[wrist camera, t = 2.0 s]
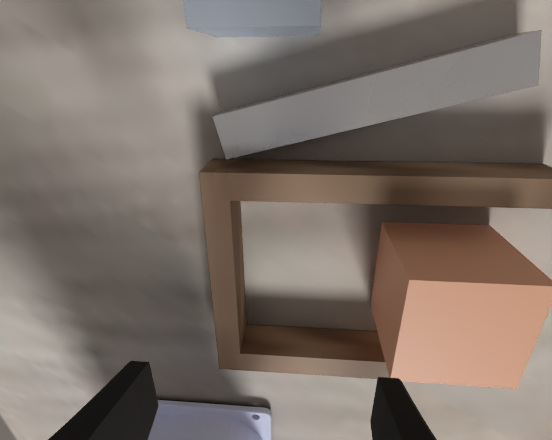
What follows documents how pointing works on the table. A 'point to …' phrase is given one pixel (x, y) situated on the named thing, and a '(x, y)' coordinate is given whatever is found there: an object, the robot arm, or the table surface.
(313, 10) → the slate block
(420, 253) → the cube
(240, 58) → the table surface
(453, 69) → the steel bar
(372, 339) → the bay
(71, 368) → the table surface
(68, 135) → the table surface
